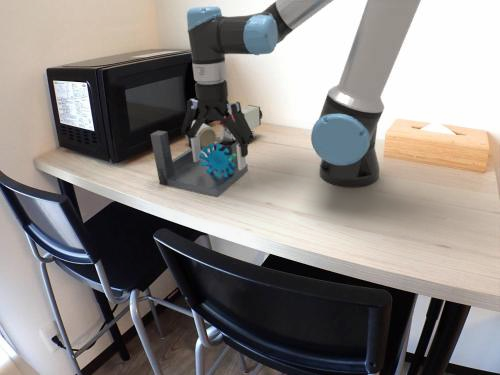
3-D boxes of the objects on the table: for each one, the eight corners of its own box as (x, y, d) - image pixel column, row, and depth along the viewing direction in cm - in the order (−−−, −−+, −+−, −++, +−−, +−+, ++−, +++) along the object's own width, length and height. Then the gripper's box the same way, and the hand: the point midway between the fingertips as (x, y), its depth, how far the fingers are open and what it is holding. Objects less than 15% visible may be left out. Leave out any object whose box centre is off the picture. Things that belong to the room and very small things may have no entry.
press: (258, 161, 108) (256, 115, 101) (217, 197, 90) (211, 143, 84) (206, 153, 115) (201, 109, 109) (159, 184, 98) (150, 134, 92)
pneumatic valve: (263, 137, 125) (262, 102, 120) (242, 148, 117) (239, 111, 112) (250, 134, 128) (248, 100, 123) (229, 145, 120) (226, 109, 115)
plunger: (239, 145, 108) (237, 115, 103) (231, 151, 104) (228, 120, 99) (225, 143, 110) (222, 113, 105) (216, 149, 106) (213, 118, 102)
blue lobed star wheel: (210, 179, 90) (195, 144, 93) (201, 189, 95) (187, 156, 97) (245, 171, 97) (230, 139, 99) (235, 181, 102) (221, 149, 104)
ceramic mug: (199, 151, 117) (197, 128, 113) (185, 145, 123) (183, 122, 119) (226, 142, 123) (224, 120, 119) (211, 137, 129) (209, 115, 125)
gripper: (158, 81, 88) (172, 162, 98) (250, 87, 78) (255, 177, 88) (177, 75, 94) (188, 152, 104) (265, 79, 83) (268, 165, 93)
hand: (219, 163), depth 96 cm, fingers open, 13 cm apart
